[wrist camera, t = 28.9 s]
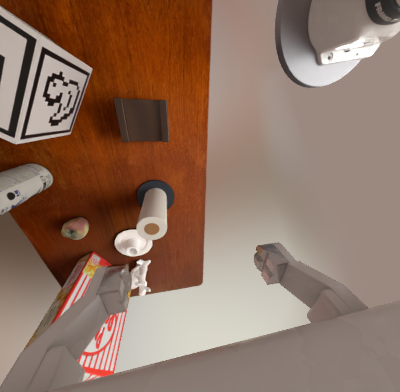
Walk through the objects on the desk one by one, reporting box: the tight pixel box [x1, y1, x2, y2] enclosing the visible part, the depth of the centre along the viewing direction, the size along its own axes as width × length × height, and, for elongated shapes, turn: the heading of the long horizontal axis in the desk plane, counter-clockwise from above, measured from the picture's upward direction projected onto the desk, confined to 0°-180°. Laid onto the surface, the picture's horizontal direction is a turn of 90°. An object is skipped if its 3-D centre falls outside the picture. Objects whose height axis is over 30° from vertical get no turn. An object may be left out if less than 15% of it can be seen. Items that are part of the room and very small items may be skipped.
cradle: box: [114, 98, 169, 142], centre depth 35 cm, size 10×8×7 cm
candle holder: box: [115, 230, 152, 256], centre depth 52 cm, size 12×12×4 cm
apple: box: [61, 217, 89, 240], centre depth 44 cm, size 6×8×6 cm
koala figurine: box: [131, 259, 151, 296], centre depth 53 cm, size 8×7×12 cm
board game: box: [24, 251, 131, 382], centre depth 45 cm, size 20×6×27 cm, turn 28°
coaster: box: [137, 180, 174, 209], centre depth 47 cm, size 11×11×1 cm
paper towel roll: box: [136, 188, 167, 240], centre depth 40 cm, size 6×15×6 cm
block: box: [0, 5, 92, 144], centre depth 24 cm, size 15×15×15 cm
